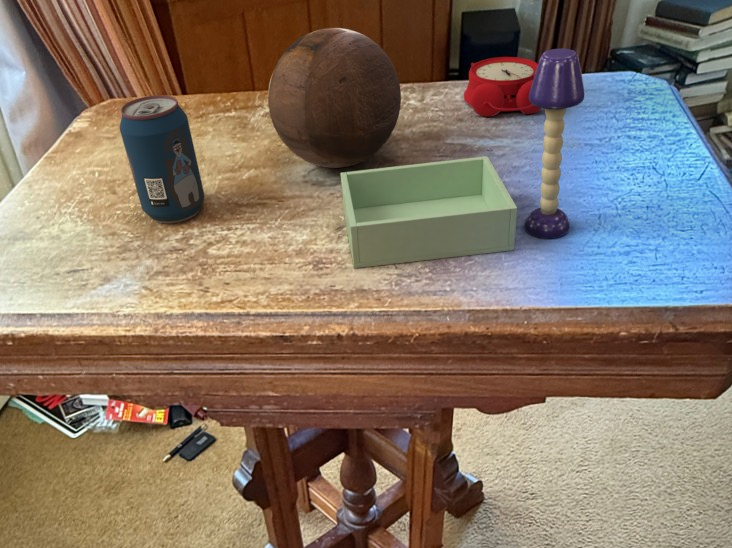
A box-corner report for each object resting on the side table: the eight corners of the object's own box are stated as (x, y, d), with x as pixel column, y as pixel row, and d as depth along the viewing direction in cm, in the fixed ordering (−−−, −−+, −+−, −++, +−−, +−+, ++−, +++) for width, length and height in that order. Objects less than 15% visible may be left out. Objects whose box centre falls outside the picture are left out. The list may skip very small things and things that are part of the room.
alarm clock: (536, 53, 99) (560, 63, 86) (534, 100, 102) (557, 117, 88) (460, 58, 100) (472, 69, 87) (460, 105, 103) (472, 122, 89)
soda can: (157, 196, 83) (130, 93, 76) (214, 196, 82) (192, 91, 74) (134, 226, 78) (103, 119, 70) (195, 227, 76) (169, 118, 69)
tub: (485, 195, 76) (487, 155, 74) (514, 250, 68) (517, 207, 65) (343, 211, 76) (340, 172, 73) (353, 268, 67) (350, 226, 65)
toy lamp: (519, 239, 69) (534, 63, 59) (517, 215, 73) (530, 45, 62) (571, 238, 68) (596, 60, 58) (566, 214, 72) (588, 42, 62)
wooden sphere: (421, 143, 88) (420, 14, 79) (370, 199, 78) (361, 58, 69) (315, 130, 94) (302, 8, 85) (254, 180, 84) (231, 48, 75)
